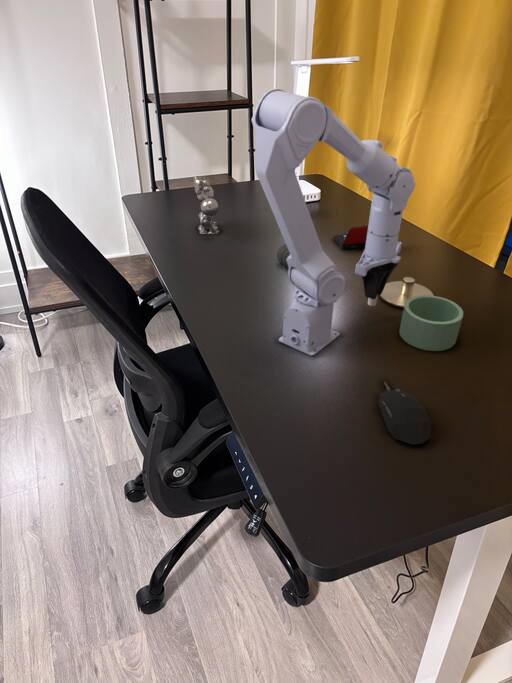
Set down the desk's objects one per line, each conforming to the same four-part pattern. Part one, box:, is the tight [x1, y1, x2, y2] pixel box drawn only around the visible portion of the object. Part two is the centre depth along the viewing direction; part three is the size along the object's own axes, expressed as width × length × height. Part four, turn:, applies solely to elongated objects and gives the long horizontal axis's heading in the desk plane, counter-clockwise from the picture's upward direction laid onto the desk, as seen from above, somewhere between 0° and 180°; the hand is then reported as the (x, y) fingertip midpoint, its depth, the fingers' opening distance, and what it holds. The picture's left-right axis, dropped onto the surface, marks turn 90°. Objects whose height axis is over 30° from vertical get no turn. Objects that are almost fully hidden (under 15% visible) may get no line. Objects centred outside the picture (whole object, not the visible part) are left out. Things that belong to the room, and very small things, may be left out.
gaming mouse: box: [377, 381, 432, 445], centre depth 78 cm, size 6×15×4 cm, turn 6°
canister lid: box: [379, 276, 435, 309], centre depth 109 cm, size 12×12×4 cm
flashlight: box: [276, 243, 290, 269], centre depth 118 cm, size 15×5×5 cm, turn 25°
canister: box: [399, 295, 464, 352], centre depth 96 cm, size 11×11×6 cm
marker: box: [367, 295, 379, 307], centre depth 100 cm, size 2×2×8 cm
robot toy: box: [193, 175, 220, 235], centre depth 136 cm, size 15×6×15 cm, turn 12°
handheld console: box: [332, 225, 368, 250], centre depth 132 cm, size 12×11×7 cm
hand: (373, 295), depth 101 cm, fingers closed on marker, 2 cm apart
